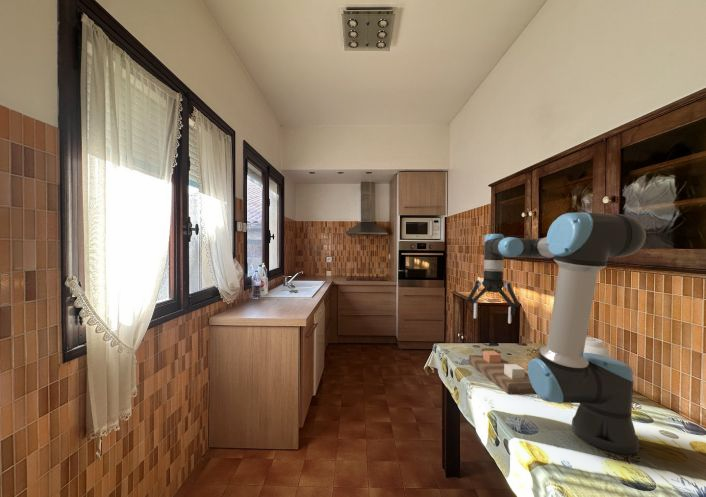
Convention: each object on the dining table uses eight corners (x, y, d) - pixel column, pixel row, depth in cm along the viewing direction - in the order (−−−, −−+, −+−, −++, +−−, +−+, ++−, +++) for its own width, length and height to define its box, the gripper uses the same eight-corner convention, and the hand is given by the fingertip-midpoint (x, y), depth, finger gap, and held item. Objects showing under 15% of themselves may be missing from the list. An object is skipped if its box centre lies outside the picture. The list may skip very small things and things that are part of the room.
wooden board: (542, 393, 117) (542, 382, 117) (508, 394, 115) (508, 383, 115) (496, 363, 147) (497, 355, 147) (468, 363, 145) (469, 355, 145)
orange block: (500, 365, 137) (500, 354, 137) (489, 365, 136) (489, 354, 136) (493, 360, 142) (494, 350, 142) (482, 360, 141) (483, 351, 141)
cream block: (524, 380, 121) (524, 369, 121) (511, 380, 120) (512, 369, 120) (515, 375, 126) (516, 364, 126) (503, 375, 125) (504, 364, 125)
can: (564, 380, 130) (566, 332, 130) (599, 385, 126) (601, 336, 126) (575, 393, 118) (577, 341, 118) (615, 399, 114) (617, 345, 114)
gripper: (527, 272, 127) (526, 323, 127) (465, 268, 142) (464, 314, 141) (525, 272, 121) (524, 326, 121) (461, 268, 136) (459, 317, 135)
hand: (491, 320), depth 131 cm, fingers open, 13 cm apart
